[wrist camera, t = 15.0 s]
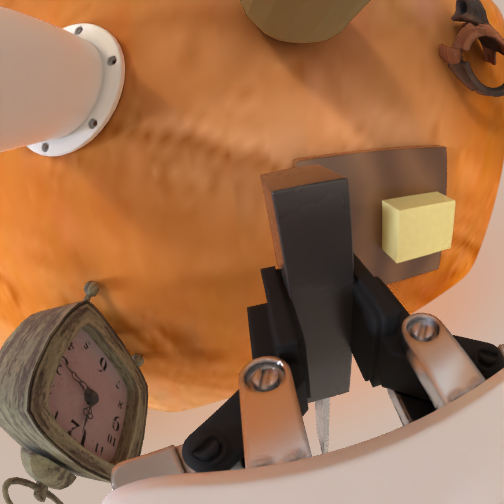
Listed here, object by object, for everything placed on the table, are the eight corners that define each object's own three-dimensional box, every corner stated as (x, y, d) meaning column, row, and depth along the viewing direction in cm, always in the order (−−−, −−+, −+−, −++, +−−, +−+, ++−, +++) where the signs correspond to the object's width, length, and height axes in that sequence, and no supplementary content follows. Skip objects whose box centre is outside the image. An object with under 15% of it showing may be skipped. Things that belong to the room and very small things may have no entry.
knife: (305, 434, 17) (311, 463, 14) (259, 174, 9) (270, 192, 6) (331, 427, 17) (340, 456, 14) (317, 163, 9) (348, 177, 6)
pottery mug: (493, 81, 18) (527, 105, 13) (434, 82, 22) (461, 105, 17) (474, -6, 10) (510, -2, 5) (407, -8, 15) (432, -12, 10)
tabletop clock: (158, 363, 31) (131, 558, 8) (103, 369, 31) (60, 532, 9) (99, 264, 24) (-22, 503, 2) (44, 282, 25) (-63, 459, 2)
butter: (381, 249, 25) (396, 263, 22) (381, 200, 23) (399, 210, 20) (434, 236, 25) (450, 248, 22) (437, 191, 23) (455, 200, 20)
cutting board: (309, 297, 28) (312, 304, 27) (292, 159, 22) (296, 161, 21) (433, 263, 28) (438, 268, 27) (439, 145, 22) (446, 146, 20)
